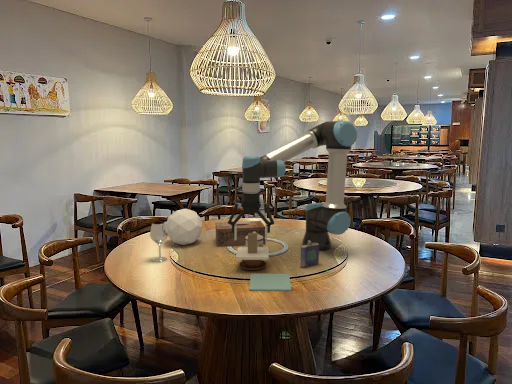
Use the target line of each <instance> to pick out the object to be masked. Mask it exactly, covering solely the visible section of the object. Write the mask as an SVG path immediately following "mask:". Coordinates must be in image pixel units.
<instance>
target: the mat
mask: <svg viewBox="0 0 512 384" xmlns="http://www.w3.org/2000/svg"><path fill="white" fill-rule="evenodd" d="M249 278H250V280H249V289H248V290H249V292H267V291H268V292H292V285H291V279H290V278H291V277H290V274H289V273H251V274H250V277H249Z"/></svg>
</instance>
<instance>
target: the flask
mask: <svg viewBox="0 0 512 384" xmlns="http://www.w3.org/2000/svg"><path fill="white" fill-rule="evenodd" d="M307 242H308V245H304V246H302V245H301V246H300V263H299V265H300V268H302V269H305V268H310V267H312V266H313V267H314V266H317V265H319V260H320V259H319V256H320V250H319V244H318V243H311V241H310V240H308V241H307Z"/></svg>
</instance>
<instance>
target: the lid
mask: <svg viewBox="0 0 512 384" xmlns="http://www.w3.org/2000/svg"><path fill="white" fill-rule="evenodd" d="M269 250H270V249H269V246H263V247H257V233H248V247H246V246H237V251H236V254H235V260H237V261H239V260H241V261H242V260H263V261H269V253H270V252H269Z"/></svg>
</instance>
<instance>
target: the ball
mask: <svg viewBox="0 0 512 384" xmlns="http://www.w3.org/2000/svg"><path fill="white" fill-rule="evenodd" d="M165 225H166V228H167V231H168V236H167V237H169V239H170V240H171V241H172V242H173V243H175V244H178V245H180V246H186V245H190V244H193V243H194V242H196V241H197V240H198V239H199V238H200V237H201V233H202V229H203V223H202V219H201V217H200V216H199V214H197V212H196V211H194V210H191V209H188V208H183V209H179V210H178V209H177V210H175V211H174V212H173V213H171V214H170V215H169V216H168V217H167V220H166V222H165Z"/></svg>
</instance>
